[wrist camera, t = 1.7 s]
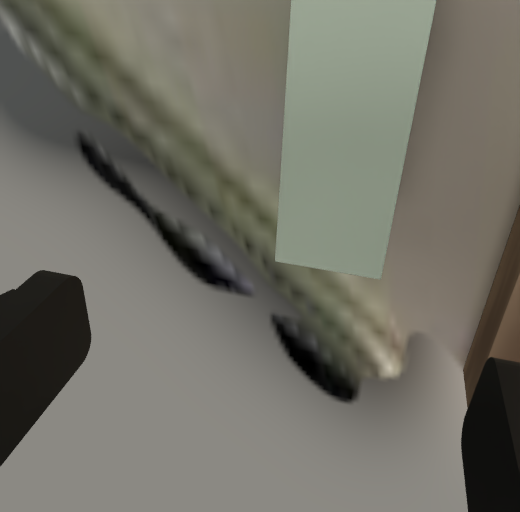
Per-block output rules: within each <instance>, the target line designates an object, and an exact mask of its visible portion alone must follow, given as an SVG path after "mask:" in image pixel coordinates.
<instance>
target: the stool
mask: <svg viewBox="0 0 520 512" xmlns="http://www.w3.org/2000/svg"><path fill="white" fill-rule="evenodd" d="M435 5H436V0H291V14H290V30H289V46H288V62H287V79H286V95H285V111H284V127H283V143H282V159H281V175H280V191H279V207H278V223H277V239H276V255H275V261H276V262H282V263H288V264H294V265H299V266H305V267H311V268H317V269H323V270H328V271H334V272H340V273H346V274H352V275H357V276H363V277H369V278H375V279H381V276H382V271H383V266H384V261H385V256H386V251H387V246H388V241H389V236H390V231H391V226H392V221H393V216H394V211H395V206H396V201H397V196H398V191H399V186H400V181H401V175H402V170H403V165H404V160H405V155H406V150H407V145H408V140H409V135H410V130H411V125H412V120H413V115H414V110H415V105H416V100H417V95H418V90H419V85H420V80H421V75H422V70H423V65H424V60H425V55H426V50H427V45H428V40H429V35H430V30H431V25H432V20H433V15H434V10H435Z"/></svg>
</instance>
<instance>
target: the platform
mask: <svg viewBox="0 0 520 512" xmlns="http://www.w3.org/2000/svg"><path fill="white" fill-rule="evenodd" d="M489 357H494V358H499V359H504V360H510V361H515V362H520V207H519V210H518V213H517V215H516V218H515V221H514V224H513V227H512V230H511V233H510V236H509V239H508V242H507V244H506V247H505V250H504V253H503V256H502V259H501V262H500V265H499V268H498V270H497V273H496V276H495V279H494V282H493V285H492V288H491V291H490V294H489V297H488V299H487V302H486V305H485V308H484V311H483V314H482V317H481V320H480V323H479V326H478V328H477V331H476V334H475V337H474V340H473V343H472V346H471V349H470V352H469V355H468V357H467V360H466V363H465V366H464V369H463V372H464V381H465V390H466V398H467V407H469V404H470V401H471V399H472V396H473V393H474V391H475V388H476V385H477V383H478V380H479V378H480V375H481V372H482V370H483V367H484V365H485V362H486V361H487V359H488V358H489Z"/></svg>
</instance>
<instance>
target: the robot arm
mask: <svg viewBox="0 0 520 512" xmlns="http://www.w3.org/2000/svg"><path fill="white" fill-rule="evenodd" d="M90 344H91V330H90V325H89V320H88V313H87V308H86V302H85V296H84V291H83V286H82V283H81V280H80V279H79V278H78V277H76V276H71V275H66V274H61V273H56V272H50V271H45V270H42V271H38V272H36V273H35V274H33V275H32V276H31V277H30V278H29V279H28V280H26V281H25V282H24V283H23V284H22V285H21V286H19V287H18V289H16V290H14V289H12V290H10V291H8V292H6V293H4V294H2V295H0V466H1V465H2V464H3V463H4V461H5V460H6V459H7V457H8V456H9V455H10V454H11V452H12V451H13V450H14V449H15V447H16V446H17V445H18V444H19V442H20V441H21V440H22V439H23V437H24V436H25V435H26V434H27V432H28V431H29V430H30V429H31V427H32V426H33V425H34V424H35V422H36V421H37V420H38V419H39V417H40V416H41V415H42V414H43V412H44V411H45V410H46V408H47V407H48V406H49V405H50V403H51V402H52V401H53V400H54V398H55V397H56V396H57V395H58V393H59V392H60V391H61V390H62V388H63V387H64V386H65V384H66V383H67V382H68V381H69V380H70V378H71V377H72V376H73V375H74V373H75V372H76V371H77V370H78V368H79V367H80V366H81V364H82V363H83V362H84V360H85V358H86V356H87V354H88V351H89V348H90ZM461 449H462V459H463V468H464V477H465V487H466V494H467V495H466V496H467V504H468V512H520V362H515V361H510V360H504V359H499V358H494V357H489V358H488V359H487V361H486V362H485V365H484V367H483V370H482V372H481V375H480V378H479V380H478V383H477V385H476V388H475V391H474V393H473V396H472V399H471V401H470V404H469V407H468V409H467V412H466V415H465V418H464V422H463V428H462V438H461Z"/></svg>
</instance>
